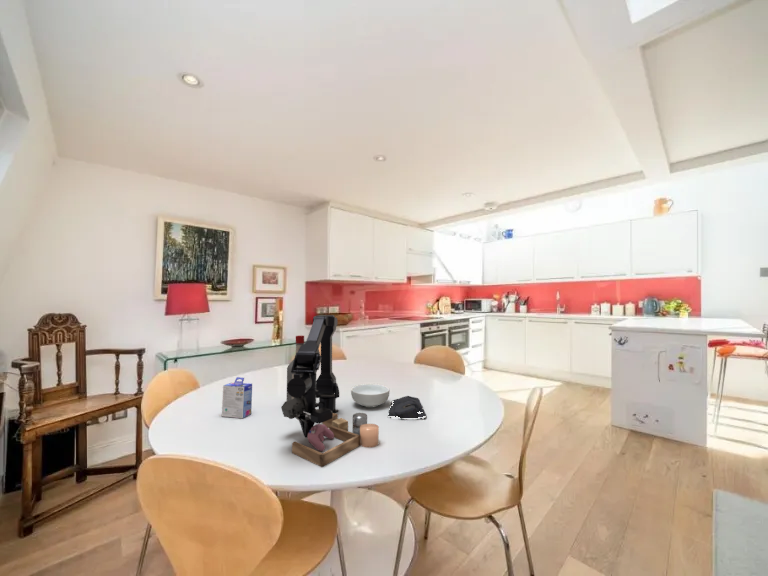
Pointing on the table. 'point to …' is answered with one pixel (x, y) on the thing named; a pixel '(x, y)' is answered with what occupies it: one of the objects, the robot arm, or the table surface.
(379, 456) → the table surface
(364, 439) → the peach cylinder puck
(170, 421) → the table surface
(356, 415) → the dark tin
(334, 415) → the walnut cube
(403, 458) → the table surface
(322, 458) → the frame
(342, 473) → the table surface
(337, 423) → the oak cube
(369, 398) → the cereal bowl
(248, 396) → the ink cartridge box
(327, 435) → the video game controller
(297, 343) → the liquor
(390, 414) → the dark slate chunk
